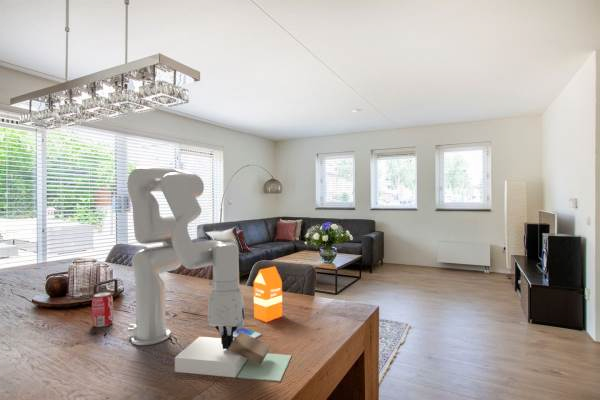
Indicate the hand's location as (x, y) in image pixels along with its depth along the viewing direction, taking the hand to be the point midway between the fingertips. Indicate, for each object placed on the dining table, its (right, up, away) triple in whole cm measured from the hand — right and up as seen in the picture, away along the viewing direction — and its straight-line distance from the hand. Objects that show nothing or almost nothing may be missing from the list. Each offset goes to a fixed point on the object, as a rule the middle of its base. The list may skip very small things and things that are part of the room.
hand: (227, 346), depth 95 cm
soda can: (-56, -6, +31) cm, 64 cm away
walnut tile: (+6, -1, -1) cm, 7 cm away
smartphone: (0, -5, +20) cm, 21 cm away
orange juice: (+8, -5, +37) cm, 38 cm away
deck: (-4, -5, +1) cm, 6 cm away
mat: (+12, -5, -2) cm, 13 cm away
